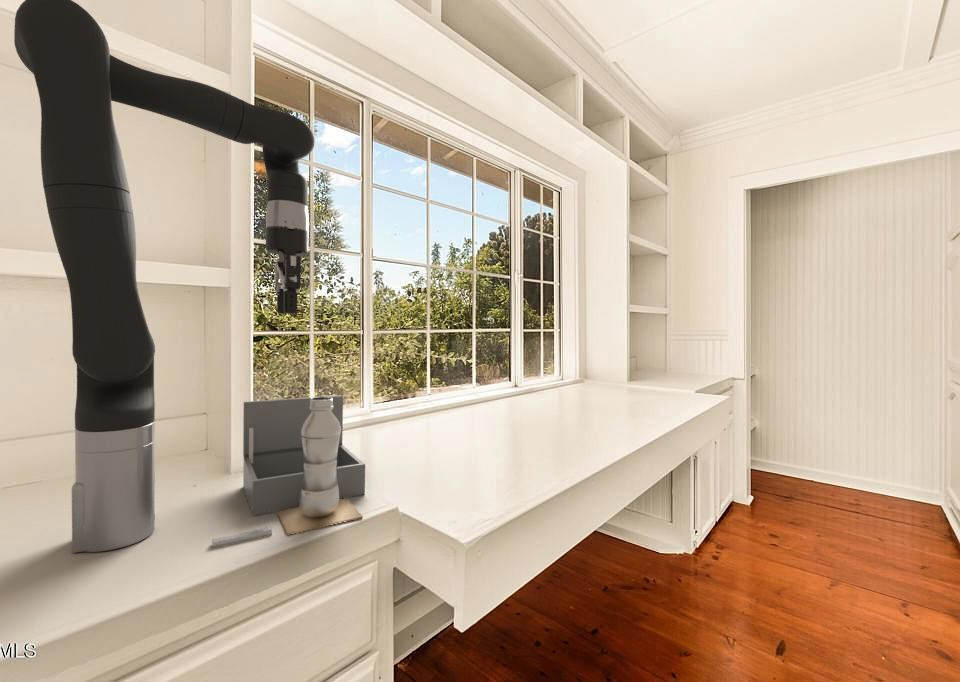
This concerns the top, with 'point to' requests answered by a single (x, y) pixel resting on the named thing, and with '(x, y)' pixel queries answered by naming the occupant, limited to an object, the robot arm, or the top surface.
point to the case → (287, 455)
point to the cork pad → (317, 518)
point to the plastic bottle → (320, 459)
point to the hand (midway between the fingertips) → (286, 313)
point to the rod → (241, 537)
